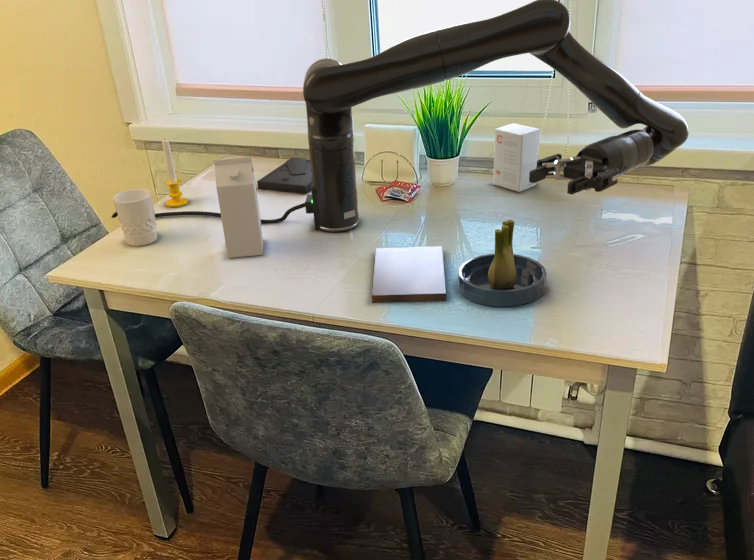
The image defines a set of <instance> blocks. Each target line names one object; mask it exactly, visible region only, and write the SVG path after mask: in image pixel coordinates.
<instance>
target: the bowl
mask: <svg viewBox="0 0 754 560" xmlns="http://www.w3.org/2000/svg"><path fill="white" fill-rule="evenodd" d="M513 254H514V253H513ZM494 256H495V253H488V254H482V255H478V256H475V257H473V258H470V259H467V260H466V261H465V262H463V263H462V264H461V265H460V266H459V269H458V271H457V272H458V274H457V275H458V279H457V287H458V291H459V292H460V294H461V295H462V296H463V297H464V298H466V299H468V300H470V301H471V302H474V303H477V304H480V305H484V306H491V307H517V306H521V305H526V304H528V303H531V302H534V301H536V300H538V299H539V298H540V297H542V296H543V295H544V293H545V290H546V289H547V288H546V286H547V276H548V275H547V274H548V273H547V270H546V267H545V266H544V265H543V264H542V263H540V261H538V260H535V259H533V258H531V257H529V256H524V255H520V254H514V264H515V268H516V274H517V276H516V279H517V281H516V284H515V285H514V286H513V287H512V288H509V289H494V288H492V287H491V286H490V283H489V280H488V271H489V268H490V266H491V263H492V261H493V260H494Z"/></svg>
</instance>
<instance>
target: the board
mask: <svg viewBox="0 0 754 560" xmlns="http://www.w3.org/2000/svg"><path fill="white" fill-rule="evenodd" d="M443 251H444V250H443V245H437V246H435V245H434V246H406V247H405V246H404V247H376V248H375V253H374V254H375V255H374V264H373V265H374V266H373V276H372V286H371V287H372V288H371V303H372V304H376V303H377V304H379V303H381V304H382V303H384V304H385V303H415V302H423V303H424V302H446V301H447V288H446V278H445V277H446V275H445V274H446V273H445V262H444V252H443Z"/></svg>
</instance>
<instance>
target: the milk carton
mask: <svg viewBox="0 0 754 560" xmlns="http://www.w3.org/2000/svg"><path fill="white" fill-rule="evenodd" d="M213 162H214V174H215V175H214V176H215V187H216V194H217V200H218V205H219V213H221V217H220V218H221V224H222V230H223V236H224V237H223V238H224V243H225V247H226V248H225V249H226V254H227V255H226V256H227V258H229V259H233V258H242V257H243V258H245V257H254V256H262V255H263V254H264V237H263V227H262V223H261V220H260V219H261V213H260V207H259V206H260V205H259V200H258V199H259V197H258V192H257V184H256V183H257V182H256V177H255V170H254V166H253V162H252V157H251V156H247V157H246V156H245V157H233V158H224V159H214V160H213Z"/></svg>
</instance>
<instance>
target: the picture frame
mask: <svg viewBox="0 0 754 560" xmlns="http://www.w3.org/2000/svg"><path fill="white" fill-rule="evenodd" d="M256 183H257V184H256V186H257V189H258V190H267V191H275V192H286V193H293V194H294V193H296V194H304V195H306V194H307V195H308V193H309V192H311V186H312V174H311V163H310V159H307V158H303V157H291V158H289V159H287V160H286V161H285V162H284V163H282V164H281V165H279V166H278V167H276V168H275V169H273V170H272V171H270V172H269V173H267V174H266V175H264V176H263V177H261V178H260V179H258V180H256Z"/></svg>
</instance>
